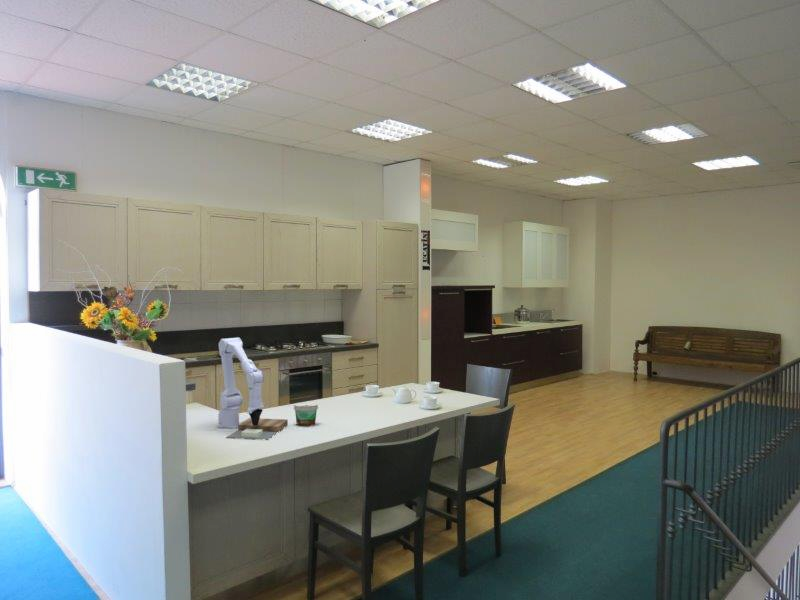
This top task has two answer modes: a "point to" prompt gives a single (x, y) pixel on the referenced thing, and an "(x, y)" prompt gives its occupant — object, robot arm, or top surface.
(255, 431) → the tile
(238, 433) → the mat
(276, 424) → the board
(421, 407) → the top surface
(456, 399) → the top surface
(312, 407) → the food container
